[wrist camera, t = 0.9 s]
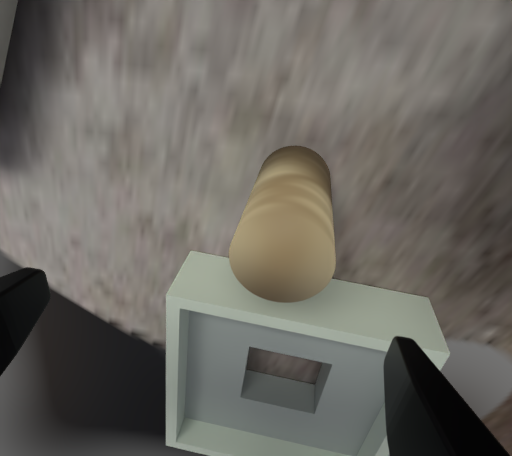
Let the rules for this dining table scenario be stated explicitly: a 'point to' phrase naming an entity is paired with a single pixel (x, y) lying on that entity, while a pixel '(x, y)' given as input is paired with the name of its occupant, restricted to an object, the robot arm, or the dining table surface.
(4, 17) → the tube
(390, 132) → the dining table surface
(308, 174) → the peg
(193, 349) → the caddy
